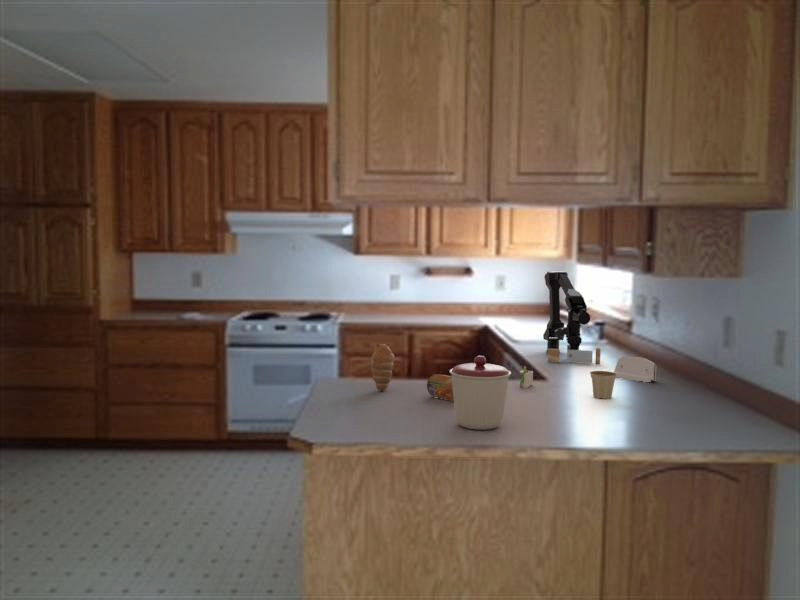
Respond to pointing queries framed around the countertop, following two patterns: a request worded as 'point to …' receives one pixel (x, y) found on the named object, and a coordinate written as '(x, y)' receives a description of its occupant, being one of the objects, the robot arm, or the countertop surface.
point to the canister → (479, 393)
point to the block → (569, 347)
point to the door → (579, 356)
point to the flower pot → (603, 383)
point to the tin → (440, 386)
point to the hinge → (635, 369)
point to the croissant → (382, 365)
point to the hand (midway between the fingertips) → (572, 355)
